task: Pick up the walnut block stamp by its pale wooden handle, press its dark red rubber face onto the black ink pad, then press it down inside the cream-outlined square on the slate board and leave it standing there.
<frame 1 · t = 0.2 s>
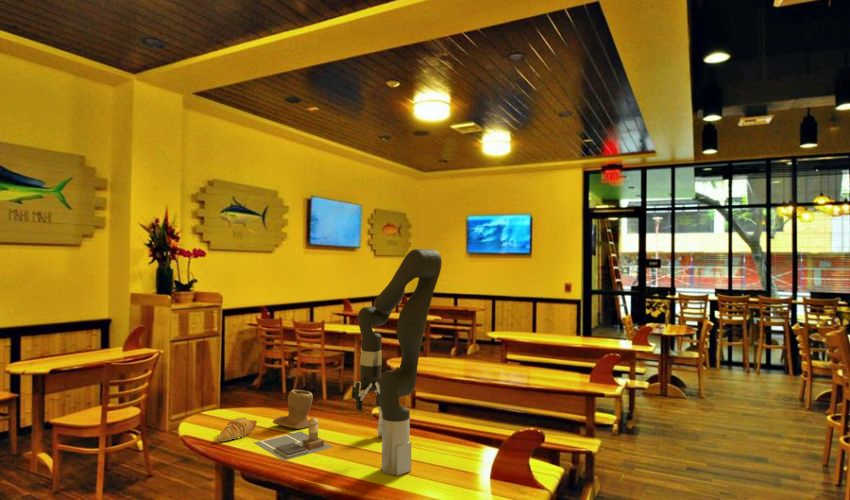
hand: (369, 408, 183), 17 cm above the table, tool pointing down, fingers open, 8 cm apart
tan boot: (295, 426, 218), on the table
croissant: (237, 436, 206), on the table
plastic bottle: (385, 437, 205), on the table
stamp: (313, 445, 192), point 1 cm above the table, touching desk board
desk board: (292, 446, 193), on the table
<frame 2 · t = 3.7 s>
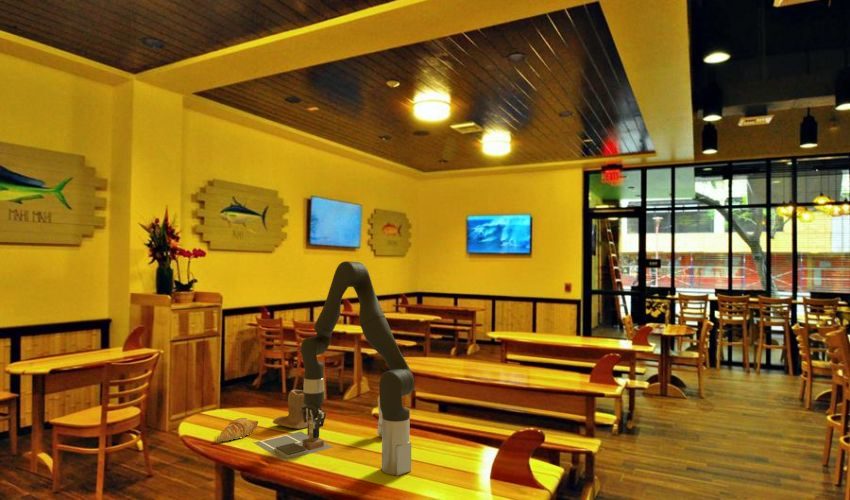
hand: (313, 436, 192), 4 cm above the table, tool pointing down, fingers closed on stamp, 3 cm apart
stamp: (313, 445, 192), point 1 cm above the table, touching desk board, gripper
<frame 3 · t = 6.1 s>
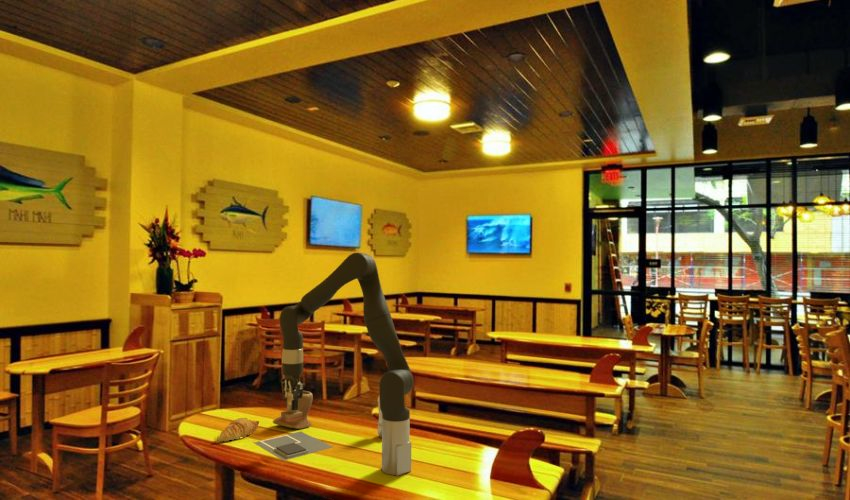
hand: (291, 408, 186), 16 cm above the table, tool pointing down, fingers closed on stamp, 3 cm apart
stamp: (291, 418, 186), point 13 cm above the table, touching gripper
everything else where it was.
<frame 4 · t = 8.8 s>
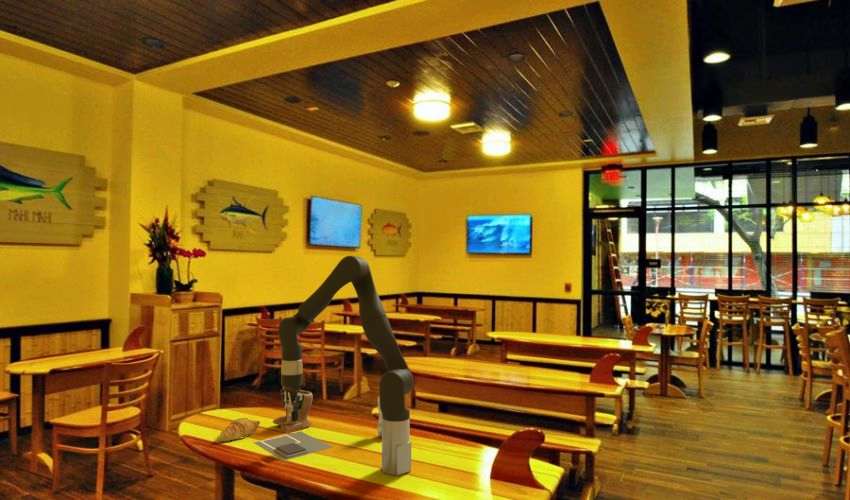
hand: (291, 419, 186), 12 cm above the table, tool pointing down, fingers closed on stamp, 3 cm apart
stamp: (291, 429, 186), point 9 cm above the table, touching gripper
everything else where it was.
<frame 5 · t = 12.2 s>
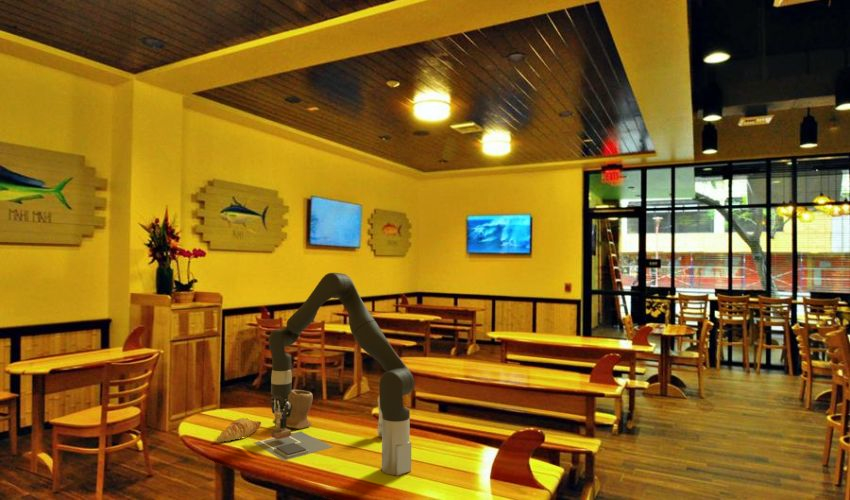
hand: (280, 426, 196), 6 cm above the table, tool pointing down, fingers closed on stamp, 3 cm apart
stamp: (280, 436, 196), point 3 cm above the table, touching gripper
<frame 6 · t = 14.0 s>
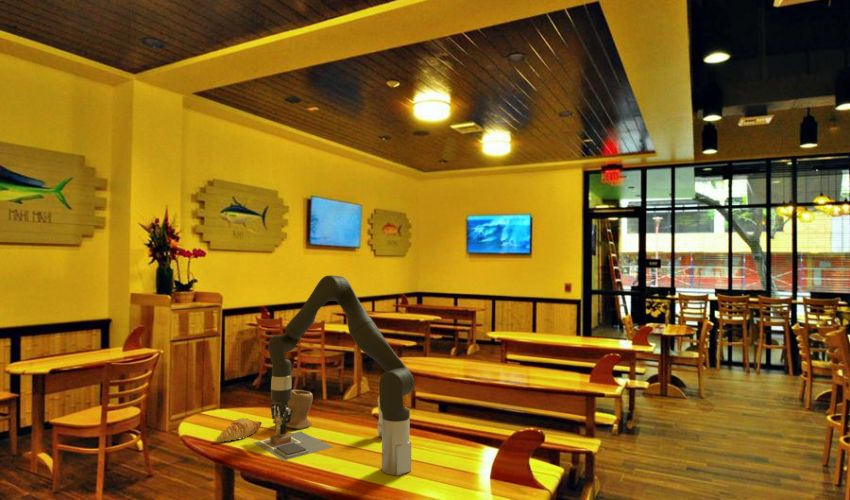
hand: (280, 432, 196), 4 cm above the table, tool pointing down, fingers closed on stamp, 3 cm apart
stamp: (280, 441, 196), point 1 cm above the table, touching desk board, gripper
when the fingers open (4 cm above the table, at t = 14.1 s): stamp stays where it is, resting on desk board.
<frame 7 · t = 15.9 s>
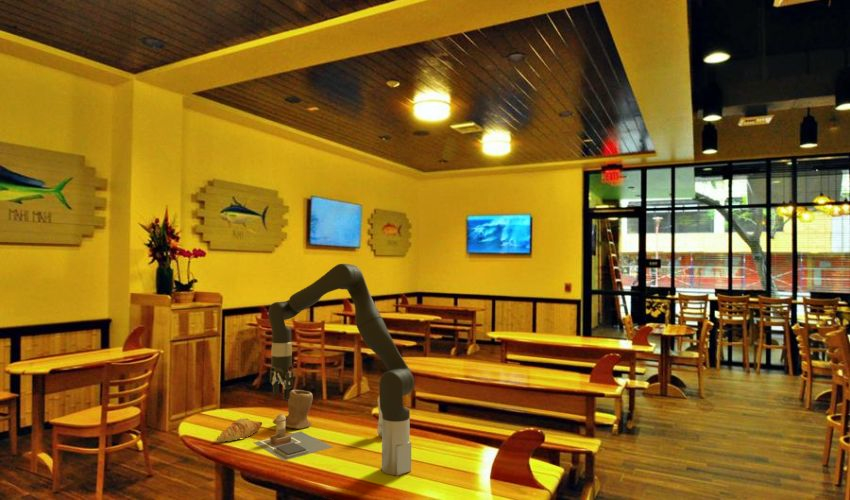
hand: (281, 396, 196), 18 cm above the table, tool pointing down, fingers open, 8 cm apart
stamp: (280, 441, 196), point 1 cm above the table, touching desk board
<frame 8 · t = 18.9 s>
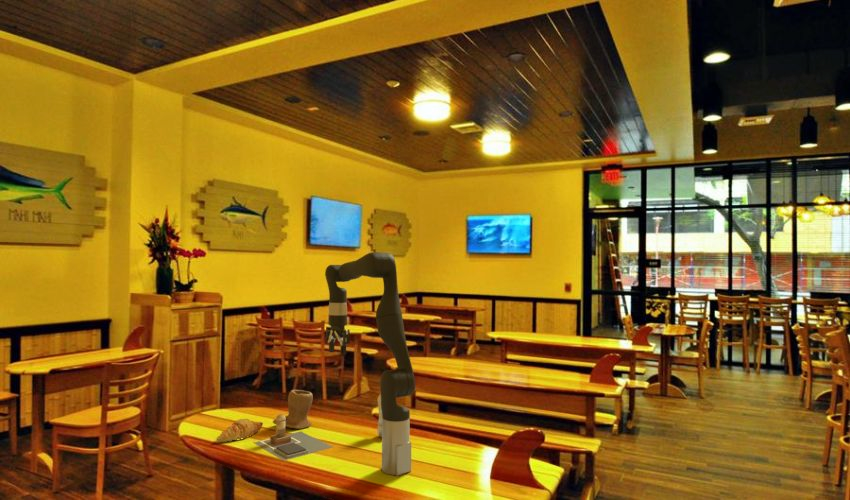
hand: (337, 353, 210), 32 cm above the table, tool pointing down, fingers open, 8 cm apart
at the end: stamp 0.1 cm from the target spot on the desk board, point 0.8 cm above the desk board's base; stamp tilted 0°; the gripper is holding nothing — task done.
